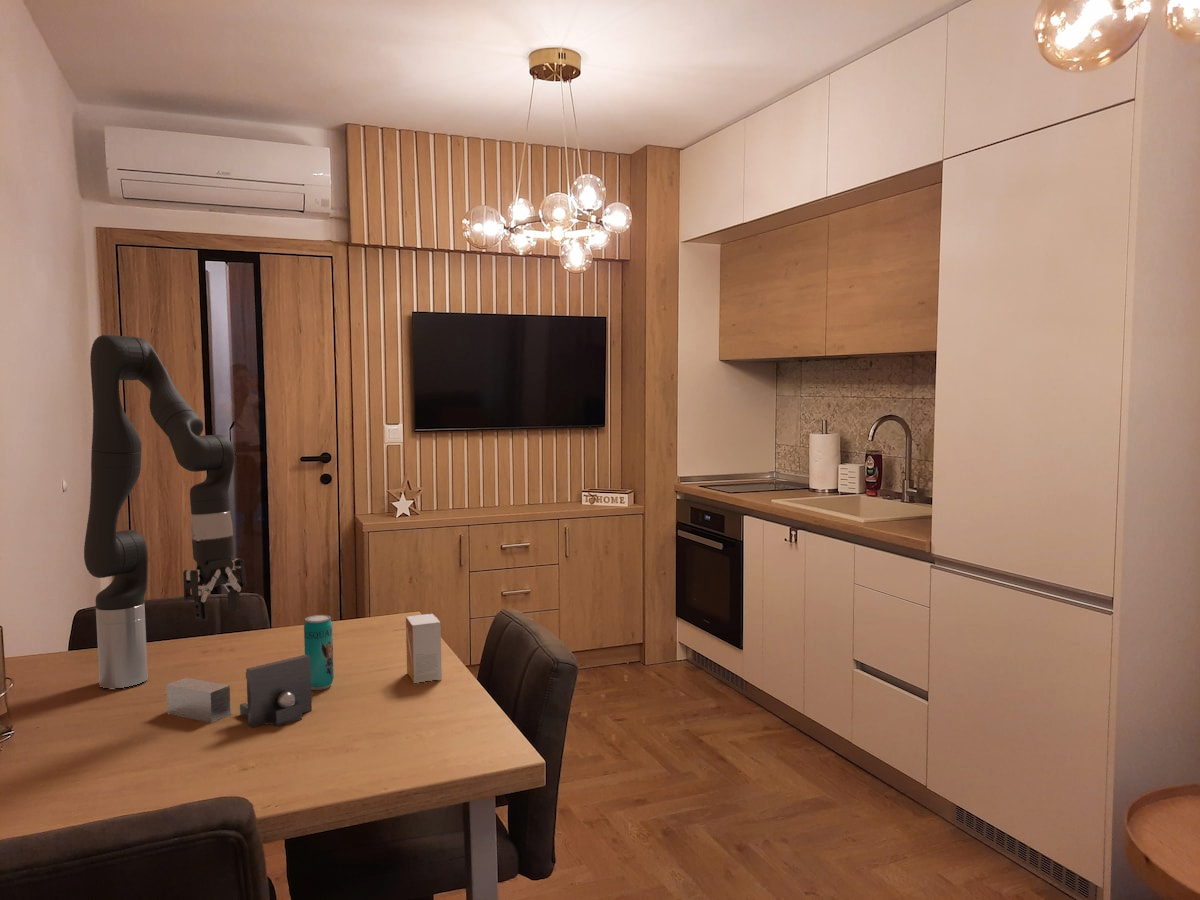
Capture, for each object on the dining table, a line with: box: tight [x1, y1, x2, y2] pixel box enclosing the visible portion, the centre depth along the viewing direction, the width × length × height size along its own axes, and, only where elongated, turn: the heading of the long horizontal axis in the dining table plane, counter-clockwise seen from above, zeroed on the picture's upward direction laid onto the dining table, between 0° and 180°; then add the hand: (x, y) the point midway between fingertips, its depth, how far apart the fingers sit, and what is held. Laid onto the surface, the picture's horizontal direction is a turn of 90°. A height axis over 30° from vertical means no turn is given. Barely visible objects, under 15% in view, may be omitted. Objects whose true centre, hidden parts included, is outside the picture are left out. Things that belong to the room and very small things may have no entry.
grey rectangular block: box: [165, 677, 232, 724], centre depth 167 cm, size 13×4×6 cm, turn 66°
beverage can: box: [303, 614, 335, 691], centre depth 181 cm, size 6×6×15 cm
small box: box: [405, 613, 443, 684], centre depth 187 cm, size 8×6×13 cm
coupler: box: [239, 654, 313, 729], centre depth 165 cm, size 12×12×11 cm
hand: (218, 615), depth 170 cm, fingers open, 8 cm apart
